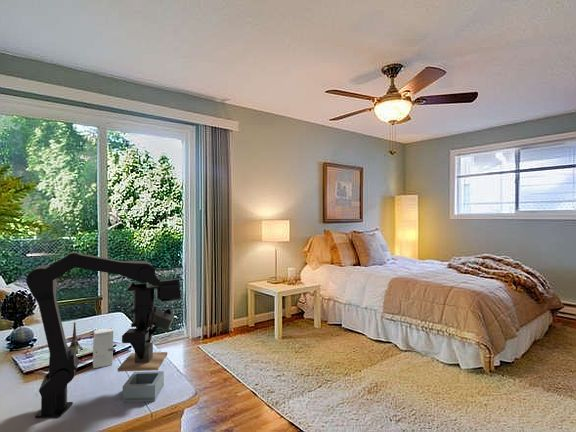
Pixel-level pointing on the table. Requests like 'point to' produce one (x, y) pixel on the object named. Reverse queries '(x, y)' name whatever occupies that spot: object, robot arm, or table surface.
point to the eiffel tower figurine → (75, 341)
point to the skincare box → (102, 347)
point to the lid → (144, 360)
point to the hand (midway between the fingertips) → (143, 355)
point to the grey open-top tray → (143, 386)
